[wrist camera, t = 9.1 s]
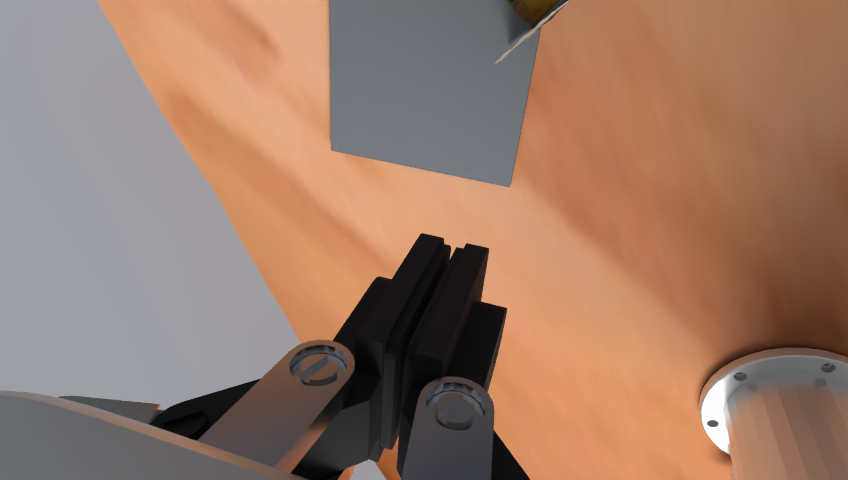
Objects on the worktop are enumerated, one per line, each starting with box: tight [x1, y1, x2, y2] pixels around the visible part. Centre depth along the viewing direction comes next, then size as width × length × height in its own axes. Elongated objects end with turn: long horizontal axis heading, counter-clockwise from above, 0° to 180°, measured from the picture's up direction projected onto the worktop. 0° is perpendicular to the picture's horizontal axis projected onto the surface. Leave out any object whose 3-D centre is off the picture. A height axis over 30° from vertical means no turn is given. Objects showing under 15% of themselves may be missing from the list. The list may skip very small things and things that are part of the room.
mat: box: [330, 0, 541, 187], centre depth 34 cm, size 20×14×1 cm
